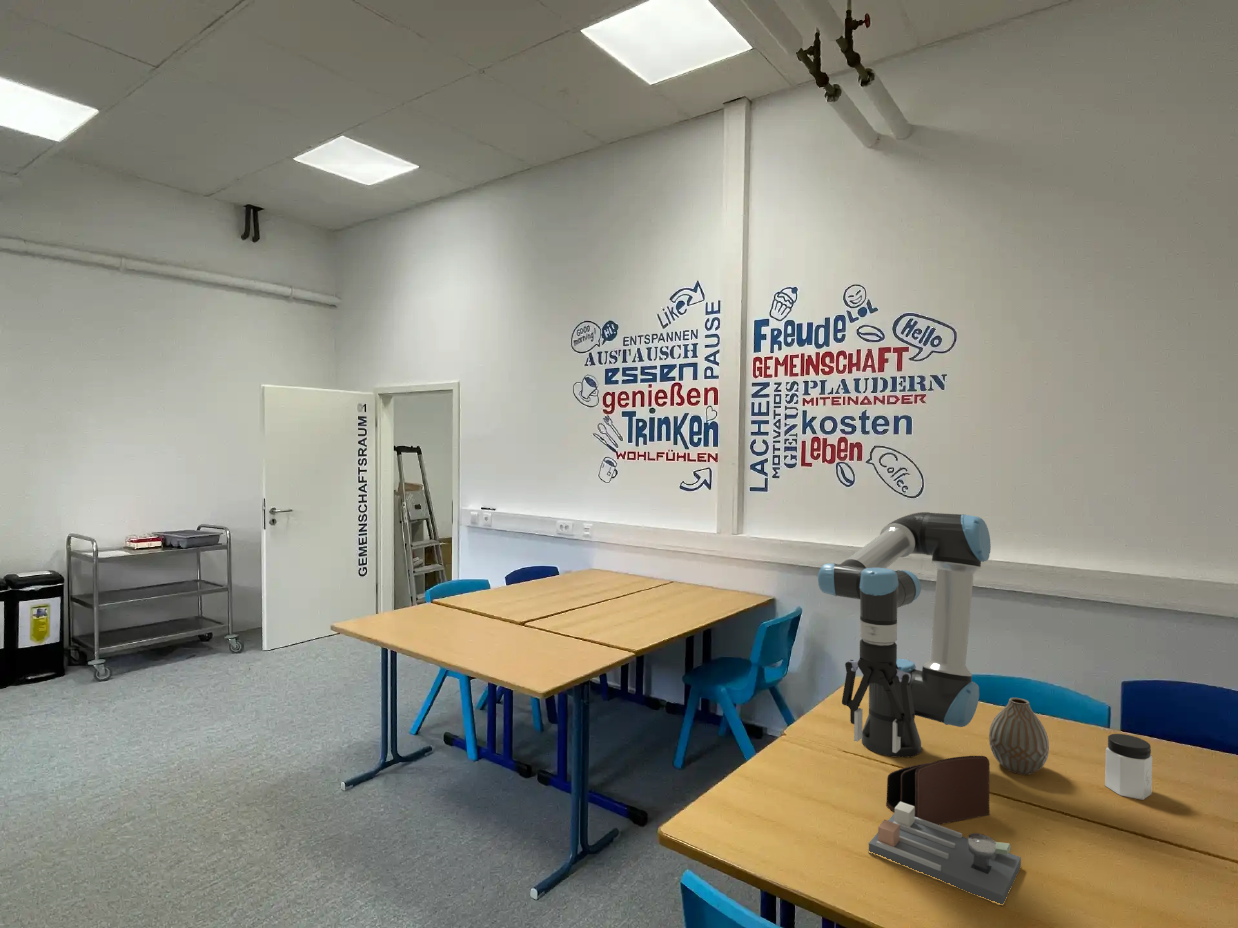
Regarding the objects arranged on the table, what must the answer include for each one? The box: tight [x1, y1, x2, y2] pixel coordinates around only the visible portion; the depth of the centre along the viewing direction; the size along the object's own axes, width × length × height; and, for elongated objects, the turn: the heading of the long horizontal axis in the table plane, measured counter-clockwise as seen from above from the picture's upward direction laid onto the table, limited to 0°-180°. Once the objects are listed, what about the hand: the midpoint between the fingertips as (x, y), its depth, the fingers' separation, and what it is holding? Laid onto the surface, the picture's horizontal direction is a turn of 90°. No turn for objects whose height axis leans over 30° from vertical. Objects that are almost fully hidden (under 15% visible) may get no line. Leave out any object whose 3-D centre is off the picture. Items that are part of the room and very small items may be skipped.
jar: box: [1104, 733, 1153, 801], centre depth 160 cm, size 9×8×12 cm
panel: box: [868, 813, 1022, 904], centre depth 133 cm, size 24×15×4 cm, turn 49°
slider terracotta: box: [877, 819, 900, 847], centre depth 135 cm, size 3×4×3 cm
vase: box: [988, 697, 1050, 776], centre depth 171 cm, size 13×13×18 cm
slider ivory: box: [893, 802, 915, 827], centre depth 142 cm, size 3×4×3 cm
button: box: [967, 832, 996, 869], centre depth 128 cm, size 5×5×5 cm
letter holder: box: [885, 755, 991, 826], centre depth 151 cm, size 10×20×14 cm, turn 107°
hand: (876, 744), depth 146 cm, fingers open, 8 cm apart
